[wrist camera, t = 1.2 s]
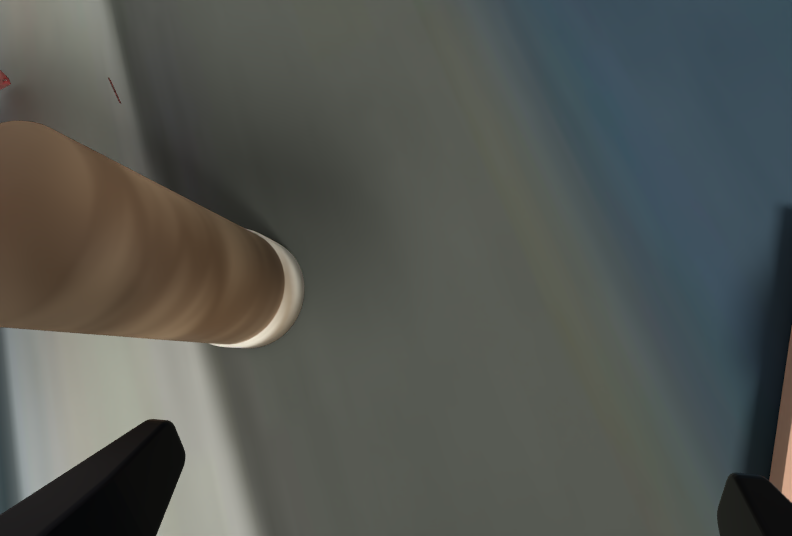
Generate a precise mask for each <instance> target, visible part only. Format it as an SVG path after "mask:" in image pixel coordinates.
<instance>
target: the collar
mask: <svg viewBox="0 0 792 536" xmlns="http://www.w3.org/2000/svg"><path fill="white" fill-rule="evenodd" d="M769 481H770V482H771V483H772V484H773V485H774V486H775V487H776V488H777V489H778V490H779V491H780V492H781V493H782V494H783V495H784V496H785V497H786V498H788V499H789V500H790V501H791V502H792V327H791V334H790V341H789V348H788V355H787V362H786V369H785V376H784V382H783V389H782V396H781V403H780V410H779V417H778V424H777V430H776V437H775V444H774V451H773V458H772V465H771V472H770V479H769Z"/></svg>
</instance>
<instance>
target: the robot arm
mask: <svg viewBox="0 0 792 536" xmlns="http://www.w3.org/2000/svg"><path fill="white" fill-rule="evenodd" d="M184 463H185V450H184V448H183V445H182V443H181V440H180V438H179V436H178V433H177V431H176V428H175V426H174V424H173V423H172V422H170V421H168V420H157V419H150V420H147V421H145V422H143V423H141V424H140V425H138V426H137V427H135V428H134V429H132V430H131V431H129V432H127V433H126V434H124V435H123V436H121V437H120V438H118V439H117V440H115V441H114V442H112V443H111V444H109V445H107V446H106V447H104V448H103V449H101V450H100V451H98V452H97V453H95V454H94V455H92V456H90V457H89V458H87V459H86V460H84V461H83V462H81V463H80V464H78V465H77V466H75V467H73V468H72V469H70V470H69V471H67V472H66V473H64V474H63V475H61V476H60V477H58V478H56V479H55V480H53V481H52V482H50V483H49V484H47V485H46V486H44V487H43V488H41V489H39V490H38V491H36V492H35V493H33V494H32V495H30V496H29V497H27V498H26V499H24V500H23V501H21V502H19V503H18V504H16V505H15V506H13V507H12V508H10V509H9V510H7V511H6V512H4V513H2V514H1V515H0V536H156V535H157V532H158V530H159V527H160V525H161V522H162V519H163V517H164V514H165V512H166V509H167V507H168V504H169V502H170V499H171V497H172V494H173V492H174V489H175V487H176V484H177V482H178V479H179V477H180V474H181V472H182V469H183V467H184ZM717 521H718V527H719V532H720V536H792V502H791V501H790V500H789V499H788V498H786V497H785V496H784V495H783V494H782V493H781V492H780V491H779V490H778V489H777V488H776V487H775V486H774V485H773V484H772V483H771V482H770V481H769V480H768V479H766V478H765V477H763V476H761V475H755V474H744V473H732V474H730V475H729V477H728V479H727V481H726V484H725V487H724V491H723V494H722V497H721V500H720V503H719V506H718V511H717Z"/></svg>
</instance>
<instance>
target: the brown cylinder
mask: <svg viewBox="0 0 792 536" xmlns="http://www.w3.org/2000/svg"><path fill="white" fill-rule="evenodd" d="M304 291H305V288H304V279H303V274H302V271H301V268H300V266H299V264H298V262H297V260H296V259H295V257H294V256H293V255H292V254H291V253H290V251H288V250H287V249H286V248H285V247H283V246H282V245H280V244H279V243H277V242H275V241H273V240H271V239H269V238H267V237H265V236H263V235H261V234H260V233H257V232H255V231H252V230H249V229H245V228H243V227H241V226H239V225H237V224H235V223H233V222H231V221H229V220H227V219H226V218H224V217H222V216H220V215H218V214H216V213H214V212H212V211H210V210H208V209H206V208H204V207H202V206H200V205H198V204H196V203H195V202H193V201H191V200H189V199H187V198H185V197H183V196H181V195H179V194H177V193H175V192H173V191H171V190H169V189H167V188H166V187H164V186H162V185H160V184H158V183H156V182H154V181H152V180H150V179H148V178H146V177H144V176H142V175H140V174H138V173H136V172H135V171H133V170H131V169H129V168H127V167H125V166H123V165H121V164H119V163H117V162H115V161H113V160H111V159H109V158H107V157H105V156H104V155H102V154H100V153H98V152H96V151H94V150H92V149H90V148H88V147H86V146H84V145H82V144H80V143H78V142H76V141H75V140H73V139H71V138H69V137H67V136H65V135H63V134H61V133H59V132H57V131H55V130H53V129H51V128H49V127H47V126H44V125H42V124H39V123H35V122H31V121H8V122H3V123H0V327H6V328H18V329H31V330H44V331H57V332H70V333H83V334H96V335H109V336H122V337H135V338H148V339H161V340H174V341H187V342H200V343H209V344H212V345H216V346H221V347H235V348H258V347H262V346H266V345H268V344H271V343H273V342H274V341H276V340H278V339H279V338H280V337H282V336H283V335H284V334H285V333H286V332H287V331H288V330H289V329H290V328H291V327H292V325H293V324H294V322H295V321H296V319H297V317H298V315H299V313H300V311H301V308H302V305H303V300H304Z"/></svg>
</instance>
